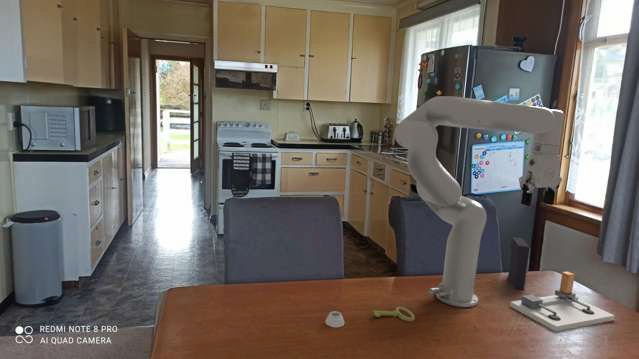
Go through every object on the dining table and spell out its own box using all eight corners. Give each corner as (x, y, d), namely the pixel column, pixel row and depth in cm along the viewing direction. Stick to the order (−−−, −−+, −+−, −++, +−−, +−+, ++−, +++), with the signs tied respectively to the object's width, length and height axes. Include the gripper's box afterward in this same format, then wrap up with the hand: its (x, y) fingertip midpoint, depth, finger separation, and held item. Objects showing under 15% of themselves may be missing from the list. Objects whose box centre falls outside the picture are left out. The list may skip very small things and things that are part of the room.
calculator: (526, 290, 151) (532, 247, 149) (512, 288, 152) (518, 245, 150) (518, 278, 162) (524, 238, 159) (506, 277, 163) (511, 236, 160)
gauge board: (555, 331, 123) (557, 317, 122) (510, 306, 137) (512, 293, 137) (613, 320, 132) (616, 307, 132) (565, 297, 147) (567, 286, 146)
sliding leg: (584, 311, 132) (589, 284, 131) (554, 296, 142) (558, 271, 140) (594, 309, 134) (598, 282, 132) (563, 295, 143) (567, 270, 142)
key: (369, 317, 125) (370, 310, 125) (403, 309, 132) (403, 302, 131) (386, 329, 119) (387, 321, 119) (420, 320, 126) (421, 313, 125)
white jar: (347, 327, 118) (339, 318, 123) (348, 317, 117) (340, 308, 122) (329, 329, 116) (322, 321, 121) (330, 319, 116) (323, 310, 120)
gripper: (534, 151, 132) (526, 208, 135) (575, 152, 139) (567, 206, 141) (514, 148, 139) (507, 202, 141) (554, 149, 145) (546, 201, 148)
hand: (537, 204), depth 141 cm, fingers open, 9 cm apart
